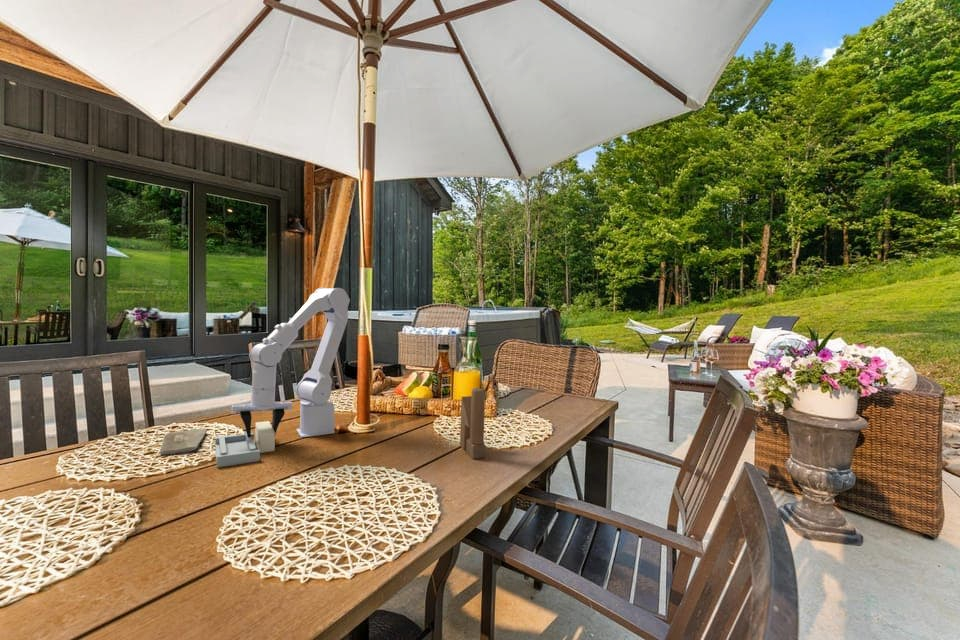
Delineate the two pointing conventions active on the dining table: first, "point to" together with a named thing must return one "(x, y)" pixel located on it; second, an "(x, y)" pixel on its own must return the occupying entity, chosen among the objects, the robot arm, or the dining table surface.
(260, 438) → the clay bar
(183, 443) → the stone
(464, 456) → the dining table surface
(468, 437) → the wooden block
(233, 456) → the tray
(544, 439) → the dining table surface
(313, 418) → the robot arm
